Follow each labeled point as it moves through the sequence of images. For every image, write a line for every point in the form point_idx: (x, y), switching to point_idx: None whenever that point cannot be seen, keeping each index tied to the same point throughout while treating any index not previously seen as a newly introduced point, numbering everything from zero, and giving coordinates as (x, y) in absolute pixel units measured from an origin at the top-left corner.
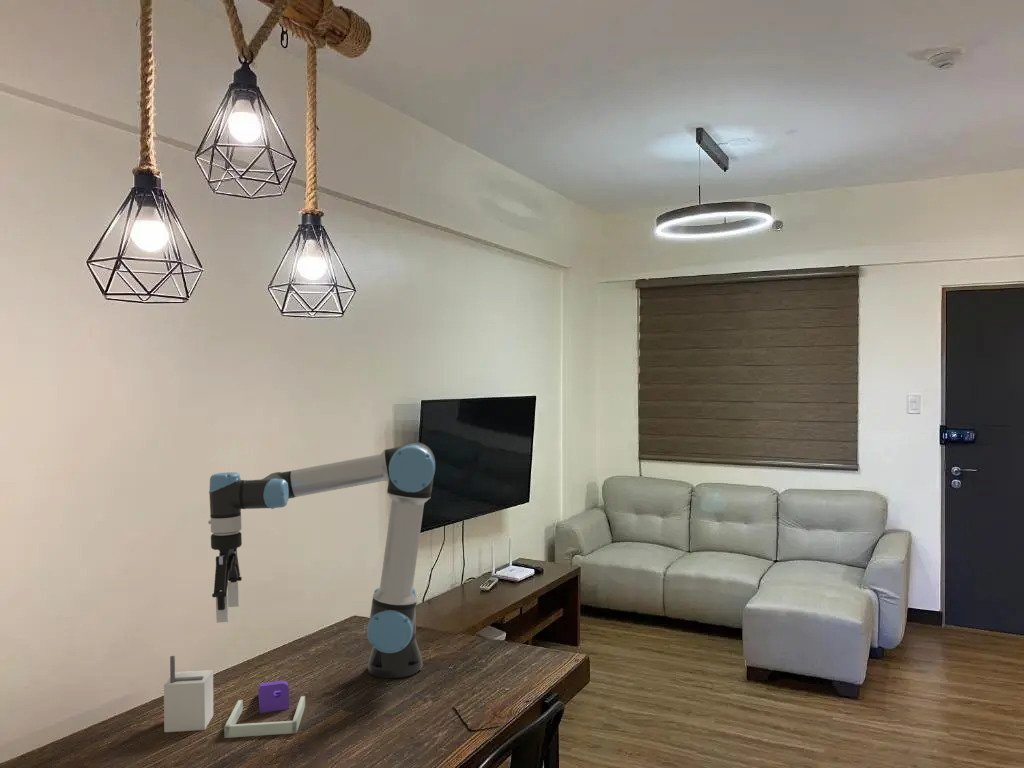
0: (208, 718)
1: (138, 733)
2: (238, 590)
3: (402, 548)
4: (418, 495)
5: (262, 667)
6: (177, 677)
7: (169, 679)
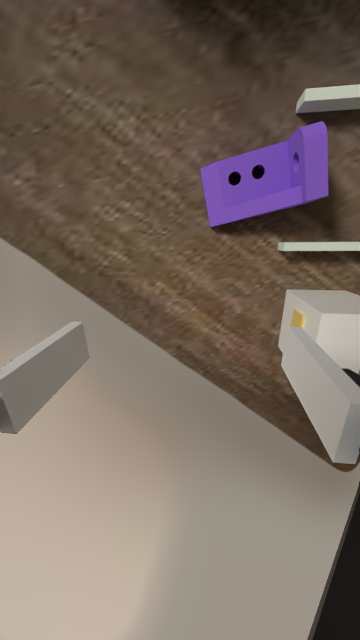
0: (325, 292)
1: None
2: (29, 353)
3: None
4: None
5: (79, 247)
6: None
7: None
